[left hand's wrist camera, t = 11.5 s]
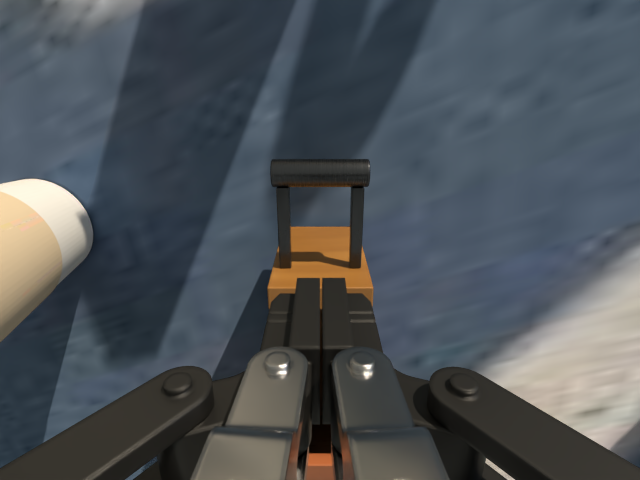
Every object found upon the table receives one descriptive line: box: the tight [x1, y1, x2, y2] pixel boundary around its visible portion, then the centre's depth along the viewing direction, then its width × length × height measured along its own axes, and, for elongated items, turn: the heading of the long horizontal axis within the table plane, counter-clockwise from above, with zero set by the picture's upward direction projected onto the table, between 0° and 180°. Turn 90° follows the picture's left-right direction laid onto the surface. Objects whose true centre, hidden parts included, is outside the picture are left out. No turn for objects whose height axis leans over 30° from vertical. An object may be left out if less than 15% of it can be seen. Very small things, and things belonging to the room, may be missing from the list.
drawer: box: [267, 159, 373, 453], centre depth 24 cm, size 22×5×9 cm, turn 0°
